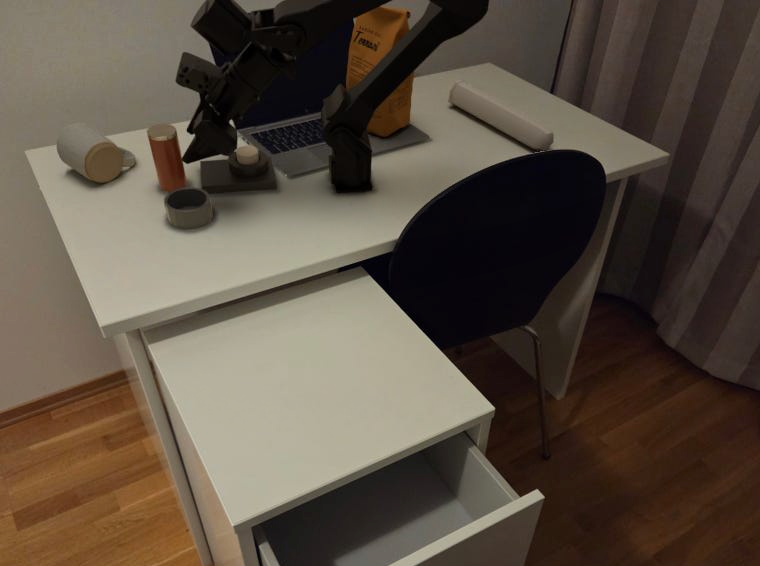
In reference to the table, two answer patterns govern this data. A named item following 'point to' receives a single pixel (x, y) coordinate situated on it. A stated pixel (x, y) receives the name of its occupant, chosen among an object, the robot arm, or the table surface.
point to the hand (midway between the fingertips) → (186, 146)
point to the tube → (501, 116)
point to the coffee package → (367, 50)
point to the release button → (247, 155)
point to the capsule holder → (188, 208)
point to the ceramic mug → (92, 153)
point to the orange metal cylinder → (167, 157)
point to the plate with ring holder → (237, 175)
